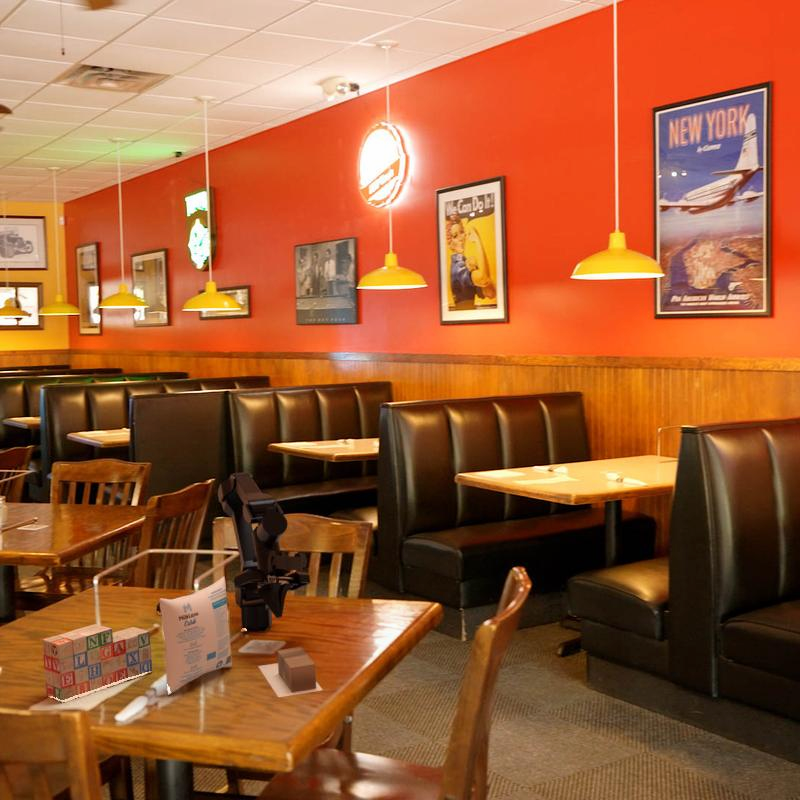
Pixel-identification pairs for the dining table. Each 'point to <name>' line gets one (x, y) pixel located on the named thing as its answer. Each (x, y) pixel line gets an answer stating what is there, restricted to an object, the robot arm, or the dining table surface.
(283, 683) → the placemat
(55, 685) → the stack of blocks
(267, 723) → the dining table surface
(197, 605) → the pouch
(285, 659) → the walnut block
